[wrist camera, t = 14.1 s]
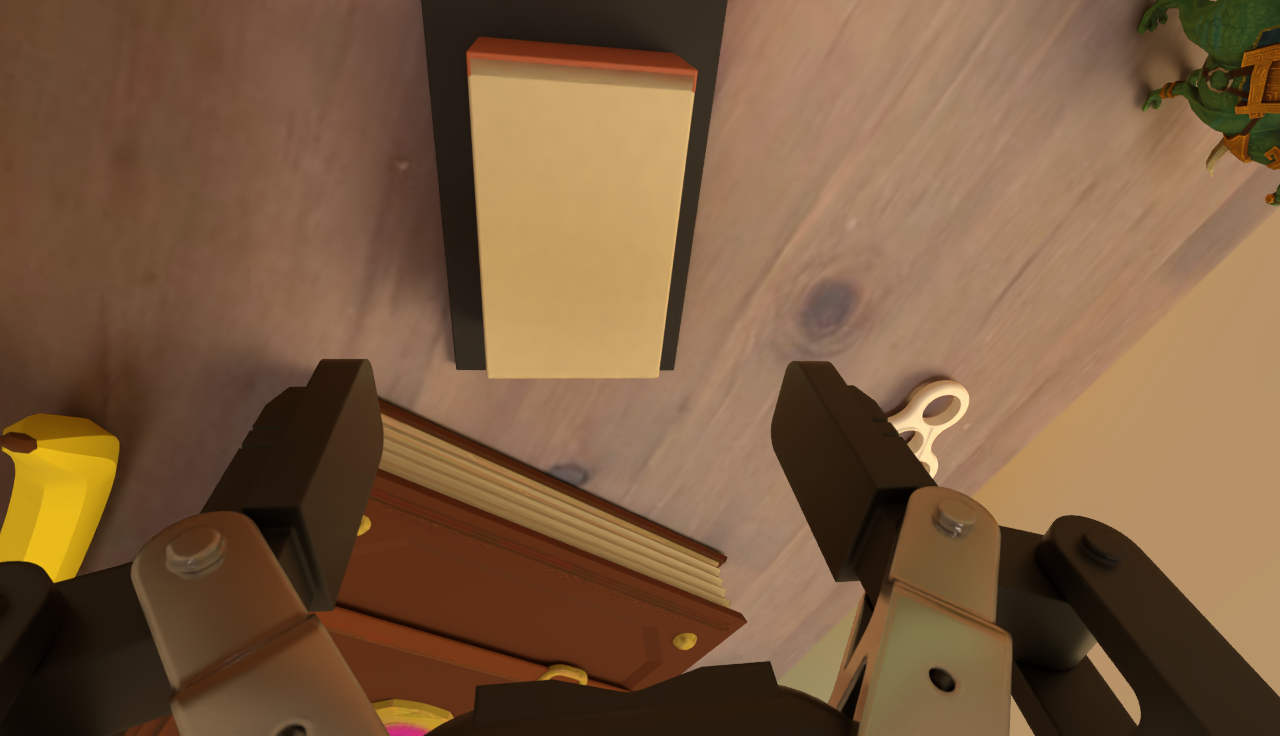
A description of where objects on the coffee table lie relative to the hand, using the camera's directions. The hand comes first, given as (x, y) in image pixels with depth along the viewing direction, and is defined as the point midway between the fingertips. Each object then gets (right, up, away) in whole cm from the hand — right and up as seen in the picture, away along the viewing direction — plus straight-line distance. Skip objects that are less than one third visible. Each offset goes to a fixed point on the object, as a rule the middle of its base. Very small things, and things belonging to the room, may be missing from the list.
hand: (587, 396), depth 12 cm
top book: (-1, +6, +9) cm, 11 cm away
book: (-13, -16, +23) cm, 31 cm away
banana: (-23, -5, +14) cm, 27 cm away
